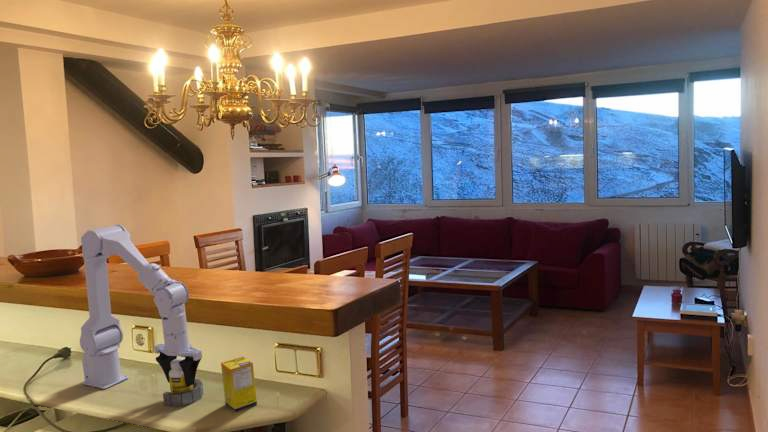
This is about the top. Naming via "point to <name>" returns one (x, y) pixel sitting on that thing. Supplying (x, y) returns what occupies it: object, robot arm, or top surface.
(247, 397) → the supplement box
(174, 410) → the top surface
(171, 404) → the steel horseshoe collar
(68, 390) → the top surface
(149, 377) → the top surface
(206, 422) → the top surface
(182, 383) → the supplement bottle
